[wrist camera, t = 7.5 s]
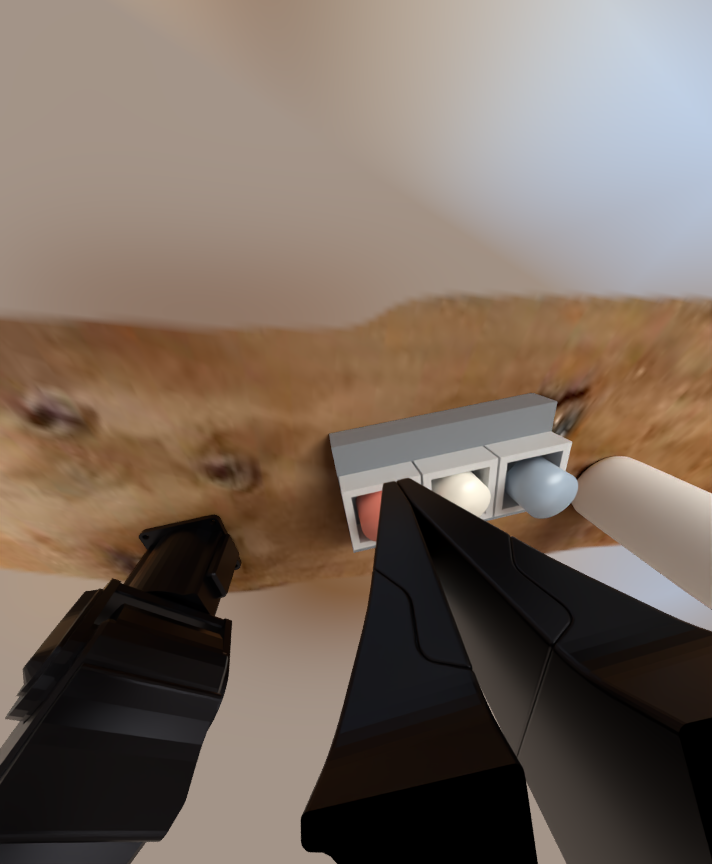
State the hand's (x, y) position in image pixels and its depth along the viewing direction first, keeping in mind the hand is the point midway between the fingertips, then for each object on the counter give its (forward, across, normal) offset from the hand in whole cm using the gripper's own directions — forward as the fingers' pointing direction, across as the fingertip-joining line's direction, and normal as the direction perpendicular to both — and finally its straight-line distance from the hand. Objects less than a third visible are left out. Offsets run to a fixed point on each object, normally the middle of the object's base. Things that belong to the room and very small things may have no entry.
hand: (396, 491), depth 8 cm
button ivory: (+10, -7, +9) cm, 15 cm away
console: (+13, -7, +9) cm, 17 cm away
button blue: (+9, -13, +9) cm, 18 cm away
